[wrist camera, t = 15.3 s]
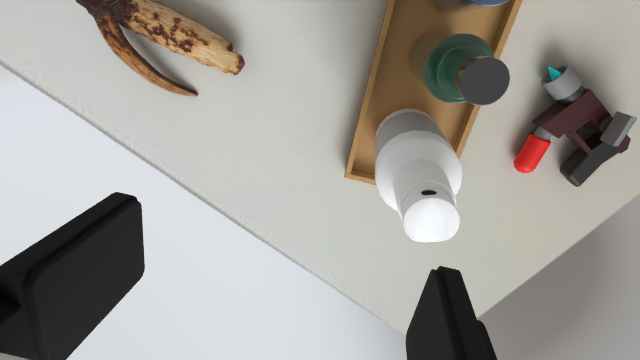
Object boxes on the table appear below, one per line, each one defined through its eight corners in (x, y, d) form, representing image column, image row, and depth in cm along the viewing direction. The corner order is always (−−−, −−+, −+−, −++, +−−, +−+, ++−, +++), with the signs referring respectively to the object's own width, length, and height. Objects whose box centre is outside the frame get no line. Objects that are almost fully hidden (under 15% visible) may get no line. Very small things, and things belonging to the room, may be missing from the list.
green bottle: (417, 27, 34) (456, 25, 18) (464, 37, 33) (548, 46, 17) (403, 75, 35) (427, 114, 19) (447, 86, 35) (509, 133, 19)
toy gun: (557, 51, 33) (585, 54, 29) (629, 138, 35) (666, 153, 31) (472, 122, 37) (485, 134, 33) (541, 197, 39) (563, 218, 35)
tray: (407, -75, 31) (409, -82, 29) (533, -49, 31) (544, -54, 29) (345, 170, 41) (343, 177, 39) (439, 193, 41) (442, 201, 39)
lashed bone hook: (90, 47, 40) (232, 117, 40) (54, 51, 36) (214, 128, 36) (99, -41, 36) (258, 37, 36) (61, -49, 32) (241, 40, 32)
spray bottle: (439, 104, 36) (493, 166, 20) (439, 165, 39) (487, 266, 22) (372, 110, 37) (371, 175, 21) (376, 170, 40) (379, 268, 24)
